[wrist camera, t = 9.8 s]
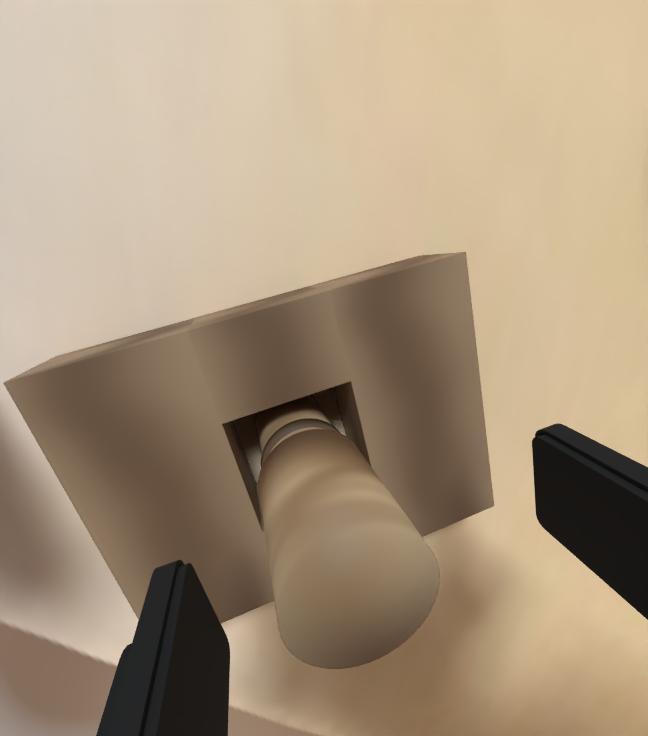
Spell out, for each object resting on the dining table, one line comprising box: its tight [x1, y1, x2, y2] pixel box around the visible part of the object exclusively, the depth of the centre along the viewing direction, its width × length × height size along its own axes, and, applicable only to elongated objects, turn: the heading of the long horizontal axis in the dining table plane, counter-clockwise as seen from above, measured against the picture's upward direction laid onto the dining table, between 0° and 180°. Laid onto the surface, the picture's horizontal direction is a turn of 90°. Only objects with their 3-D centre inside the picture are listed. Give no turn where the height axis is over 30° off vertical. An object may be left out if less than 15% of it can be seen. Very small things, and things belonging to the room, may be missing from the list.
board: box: [4, 252, 494, 623], centre depth 16 cm, size 16×12×4 cm
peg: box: [256, 395, 440, 669], centre depth 13 cm, size 4×4×10 cm
